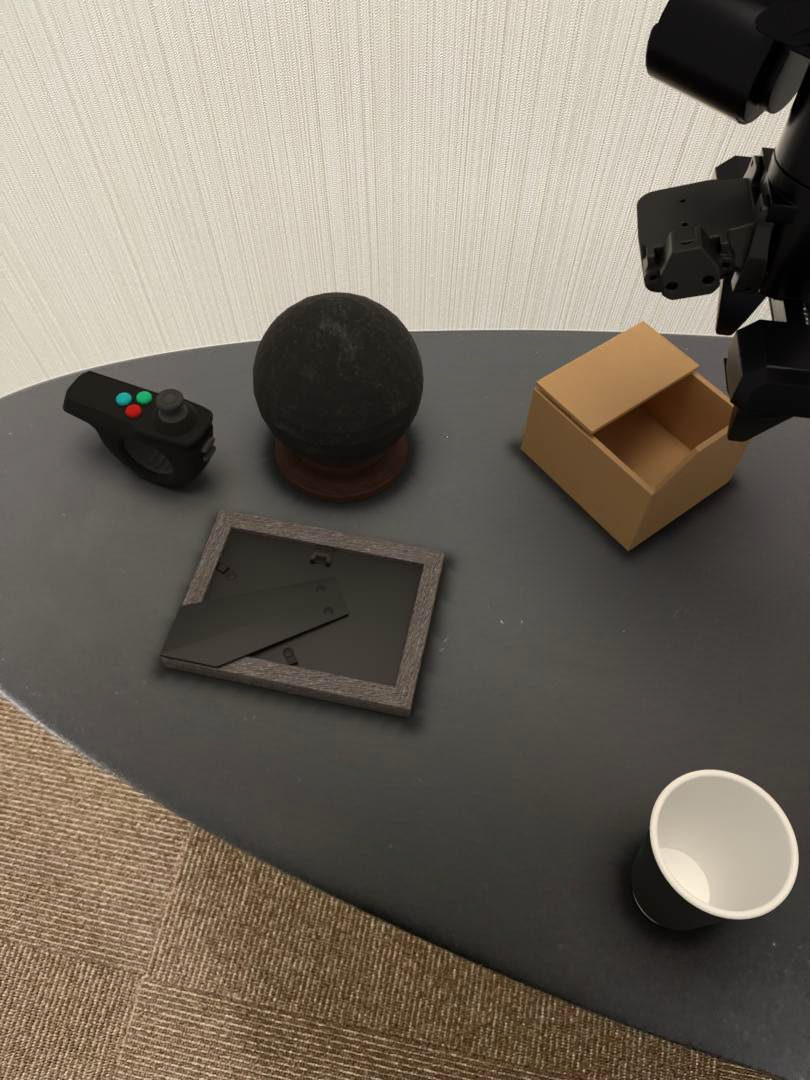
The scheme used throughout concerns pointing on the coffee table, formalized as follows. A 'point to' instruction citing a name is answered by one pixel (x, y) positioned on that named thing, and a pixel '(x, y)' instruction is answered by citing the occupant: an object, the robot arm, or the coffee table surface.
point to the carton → (630, 432)
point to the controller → (145, 427)
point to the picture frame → (308, 612)
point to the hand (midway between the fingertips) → (728, 384)
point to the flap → (696, 457)
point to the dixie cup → (714, 853)
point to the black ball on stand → (338, 394)
